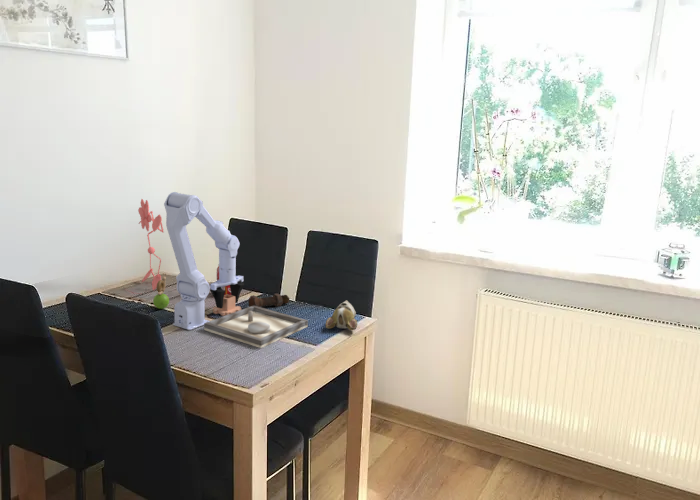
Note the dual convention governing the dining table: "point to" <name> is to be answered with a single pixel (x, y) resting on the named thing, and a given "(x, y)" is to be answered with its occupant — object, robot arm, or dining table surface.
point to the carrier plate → (256, 318)
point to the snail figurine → (161, 295)
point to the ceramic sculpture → (343, 317)
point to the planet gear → (227, 306)
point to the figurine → (155, 225)
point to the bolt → (268, 300)
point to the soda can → (226, 288)
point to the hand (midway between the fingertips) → (227, 305)
